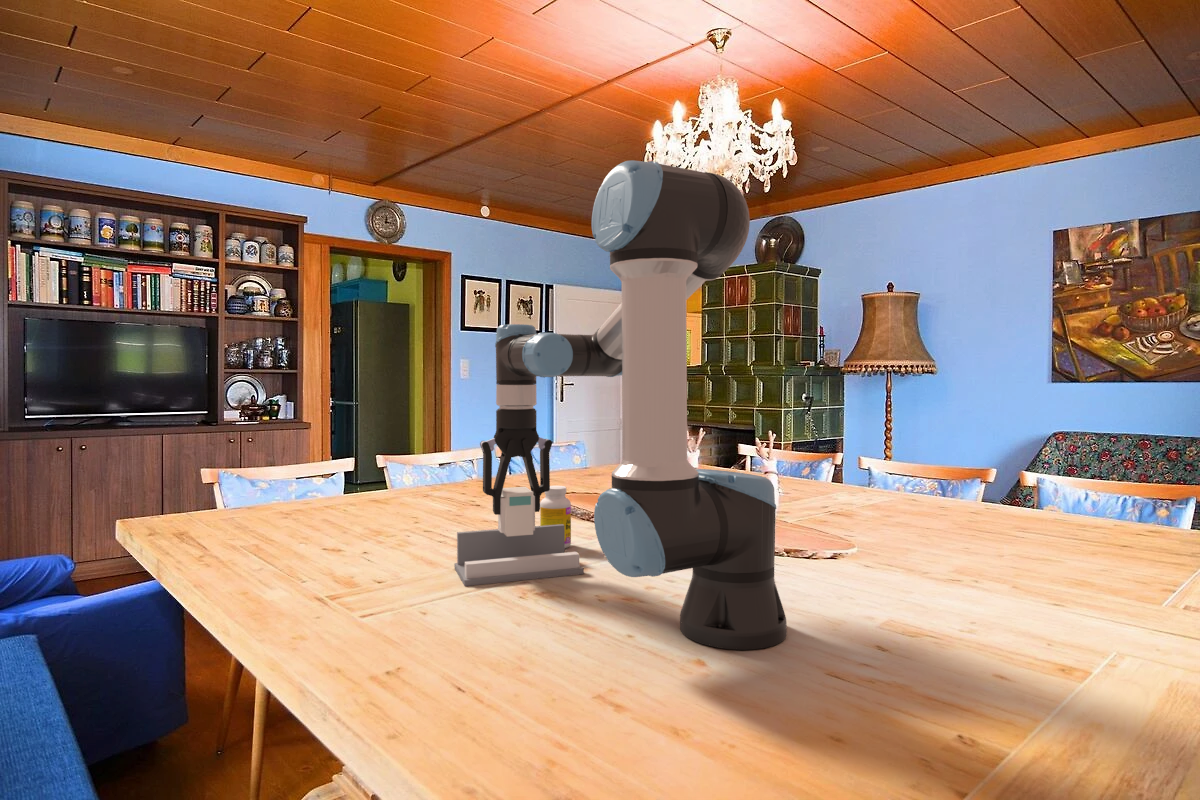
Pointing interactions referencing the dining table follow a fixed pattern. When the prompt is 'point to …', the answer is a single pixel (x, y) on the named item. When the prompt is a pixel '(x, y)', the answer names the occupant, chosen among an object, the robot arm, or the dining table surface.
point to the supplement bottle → (557, 511)
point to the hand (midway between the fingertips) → (516, 529)
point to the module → (518, 511)
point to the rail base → (514, 556)
